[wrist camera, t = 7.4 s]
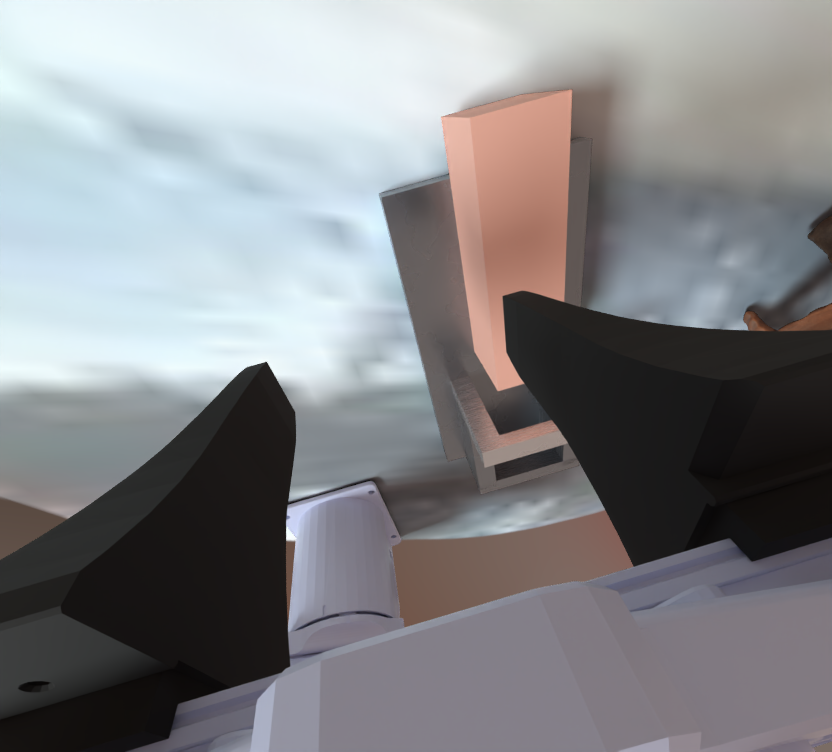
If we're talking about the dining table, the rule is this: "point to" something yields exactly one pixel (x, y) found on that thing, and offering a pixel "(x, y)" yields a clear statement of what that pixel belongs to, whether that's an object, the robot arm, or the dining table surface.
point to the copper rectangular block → (509, 210)
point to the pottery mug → (828, 238)
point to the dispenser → (452, 337)
